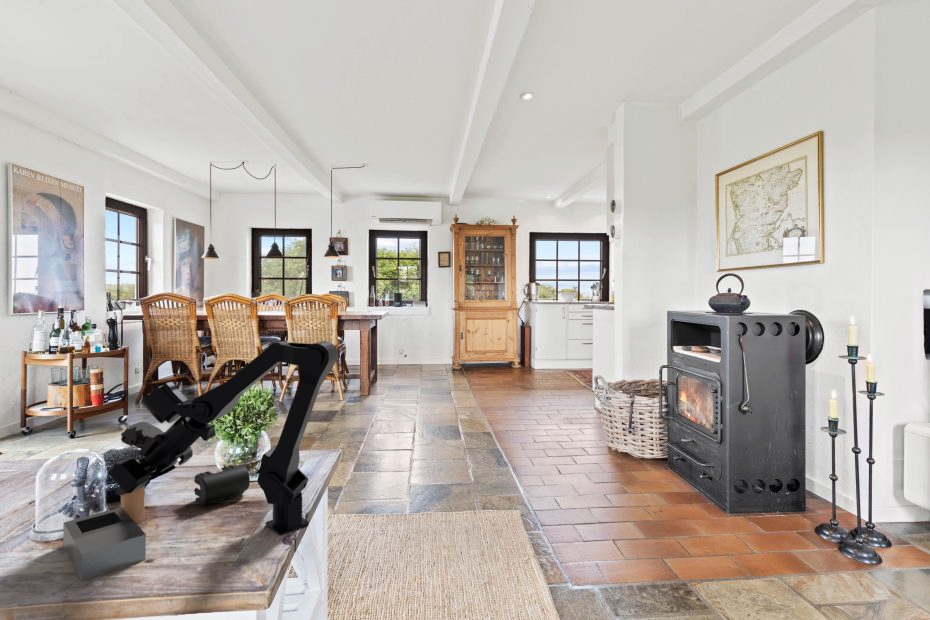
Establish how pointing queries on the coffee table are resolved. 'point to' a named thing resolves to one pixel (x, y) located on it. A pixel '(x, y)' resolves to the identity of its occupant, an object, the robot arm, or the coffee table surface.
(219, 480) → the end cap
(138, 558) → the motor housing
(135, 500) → the plug
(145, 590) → the coffee table surface
